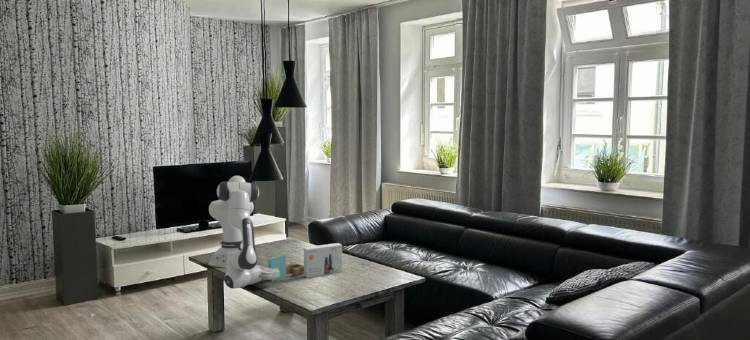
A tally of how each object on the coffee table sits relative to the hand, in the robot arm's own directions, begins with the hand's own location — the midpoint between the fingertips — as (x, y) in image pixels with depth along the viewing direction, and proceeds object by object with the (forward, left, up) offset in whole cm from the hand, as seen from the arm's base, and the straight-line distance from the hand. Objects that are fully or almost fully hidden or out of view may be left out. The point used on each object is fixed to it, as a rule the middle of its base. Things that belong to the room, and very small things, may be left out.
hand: (274, 268), depth 309 cm
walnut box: (+5, +13, -6) cm, 16 cm away
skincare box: (+21, +16, -6) cm, 27 cm away
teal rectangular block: (+1, +2, -6) cm, 6 cm away
